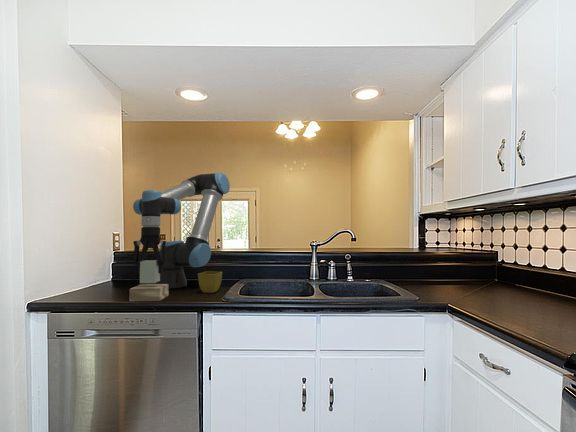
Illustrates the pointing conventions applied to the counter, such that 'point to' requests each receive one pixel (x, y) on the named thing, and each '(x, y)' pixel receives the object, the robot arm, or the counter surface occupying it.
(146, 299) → the base block
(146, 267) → the sage block
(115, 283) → the counter surface
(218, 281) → the flower pot
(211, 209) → the robot arm
